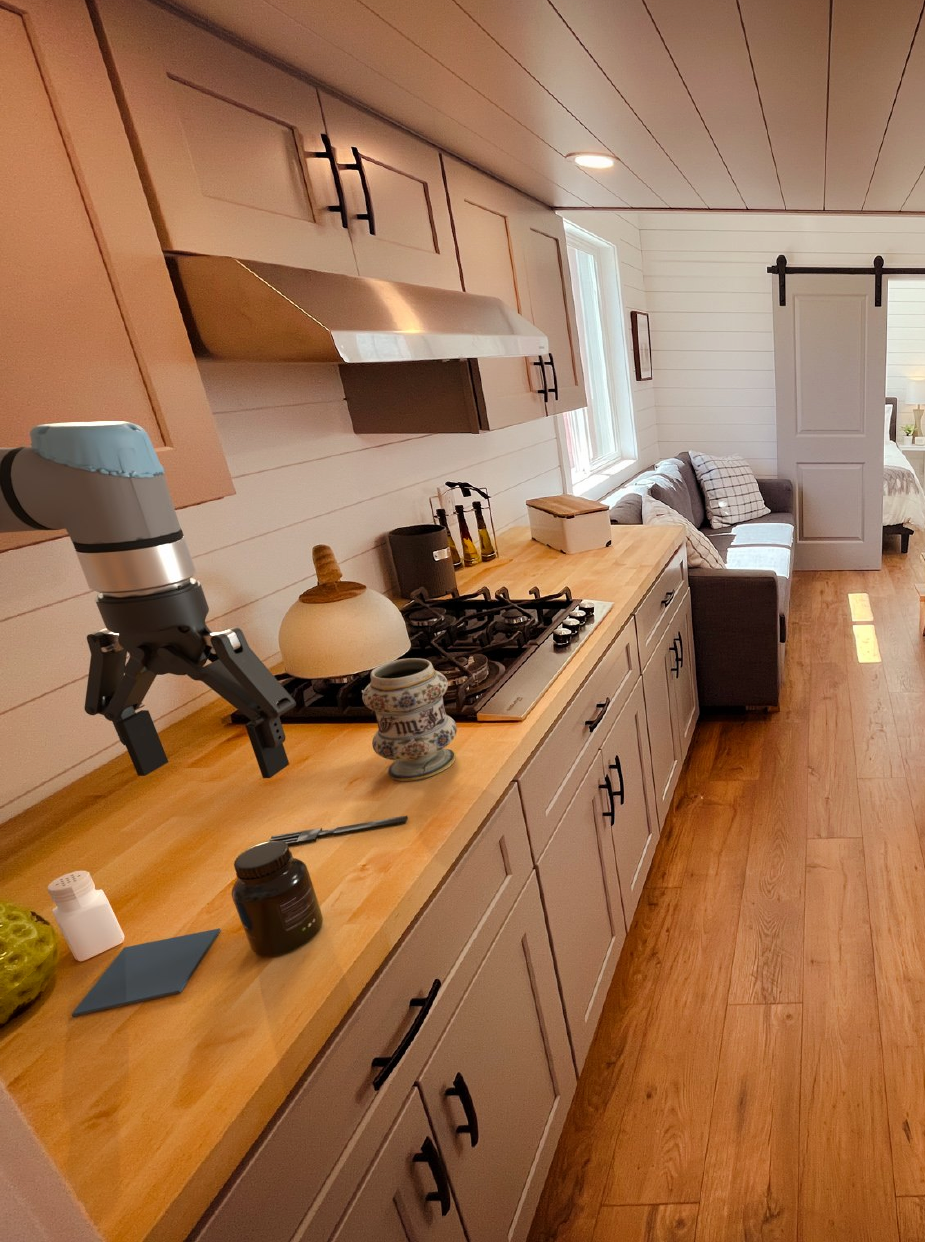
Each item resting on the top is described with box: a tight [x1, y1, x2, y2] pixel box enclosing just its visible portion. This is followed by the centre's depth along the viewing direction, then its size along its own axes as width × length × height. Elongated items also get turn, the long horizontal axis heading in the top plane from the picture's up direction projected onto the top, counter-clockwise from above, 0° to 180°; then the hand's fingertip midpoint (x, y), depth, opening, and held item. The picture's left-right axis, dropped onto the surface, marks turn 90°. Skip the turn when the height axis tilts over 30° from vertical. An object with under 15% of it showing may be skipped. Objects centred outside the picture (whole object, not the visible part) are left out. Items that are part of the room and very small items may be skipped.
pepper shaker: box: [46, 870, 126, 962], centre depth 77 cm, size 4×4×10 cm
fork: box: [268, 815, 409, 847], centre depth 97 cm, size 17×3×1 cm, turn 109°
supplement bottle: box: [231, 841, 324, 958], centre depth 78 cm, size 7×7×12 cm
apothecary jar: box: [361, 657, 458, 782], centre depth 111 cm, size 12×12×18 cm
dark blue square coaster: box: [70, 928, 221, 1017], centre depth 75 cm, size 9×9×1 cm
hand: (215, 770), depth 74 cm, fingers open, 13 cm apart
